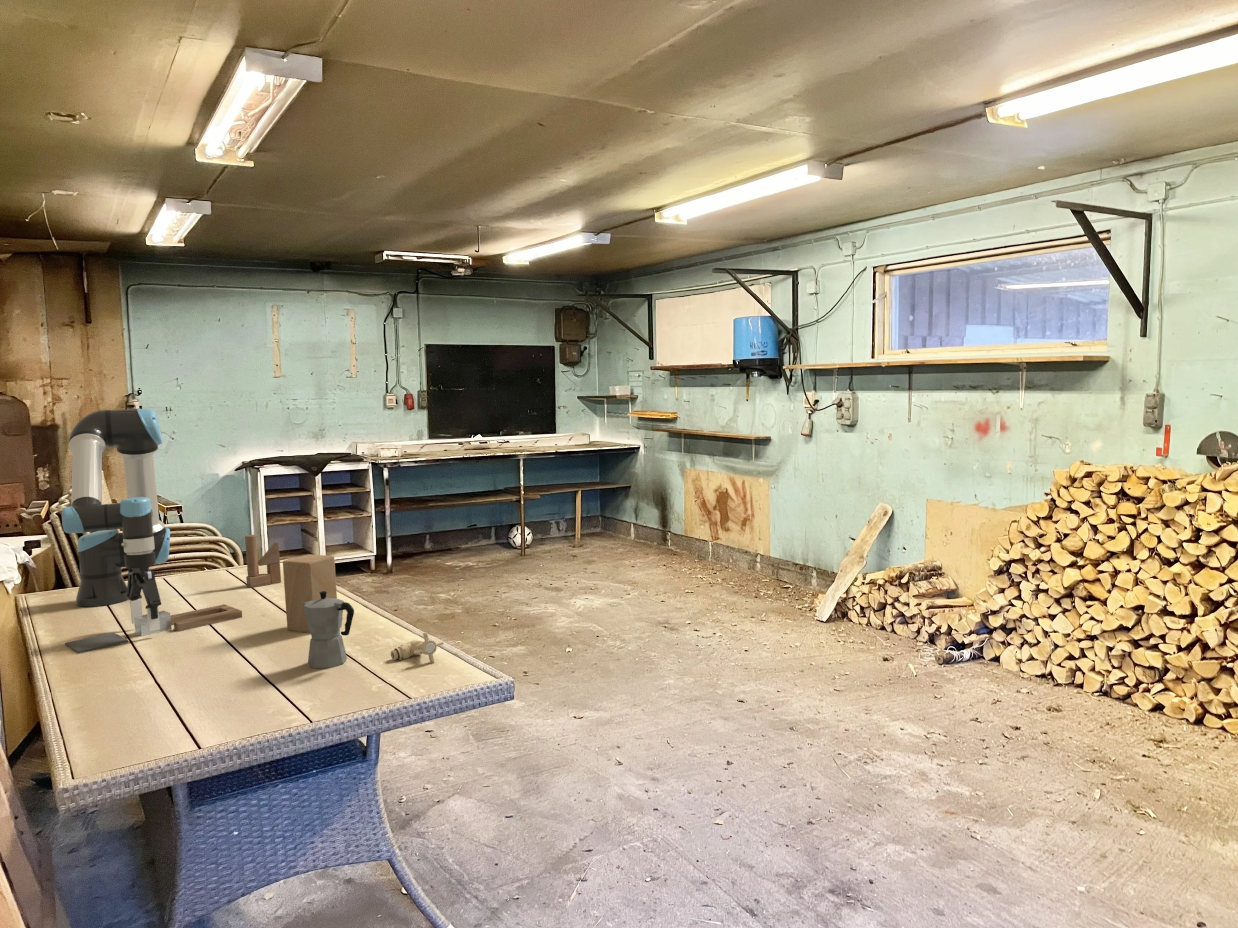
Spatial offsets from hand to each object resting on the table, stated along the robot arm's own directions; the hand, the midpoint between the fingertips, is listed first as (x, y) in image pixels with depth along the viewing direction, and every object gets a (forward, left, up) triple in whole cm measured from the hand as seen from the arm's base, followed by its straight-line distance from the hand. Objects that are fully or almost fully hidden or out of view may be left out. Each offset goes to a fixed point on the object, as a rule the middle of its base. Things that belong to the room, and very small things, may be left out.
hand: (145, 626), depth 239 cm
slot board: (0, +16, -2) cm, 16 cm away
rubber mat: (0, -12, -2) cm, 13 cm away
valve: (+82, +35, -2) cm, 89 cm away
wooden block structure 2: (-32, +49, -2) cm, 58 cm away
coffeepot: (+68, +20, -2) cm, 71 cm away
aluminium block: (0, +2, -2) cm, 3 cm away
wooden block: (+34, +33, -2) cm, 47 cm away
